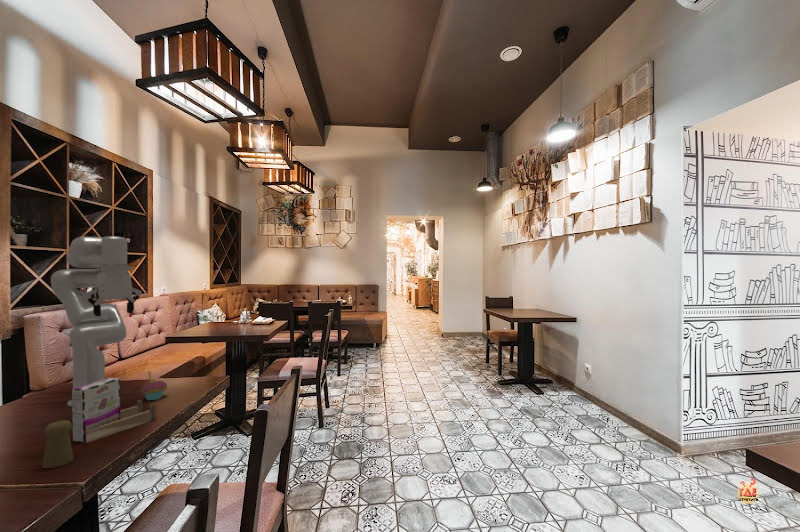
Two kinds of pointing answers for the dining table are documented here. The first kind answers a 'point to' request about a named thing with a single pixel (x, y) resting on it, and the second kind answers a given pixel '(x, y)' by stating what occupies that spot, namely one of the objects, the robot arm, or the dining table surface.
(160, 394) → the cupcake
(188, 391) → the dining table surface
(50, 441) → the cork
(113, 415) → the candy bar box
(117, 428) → the chute
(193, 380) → the dining table surface
